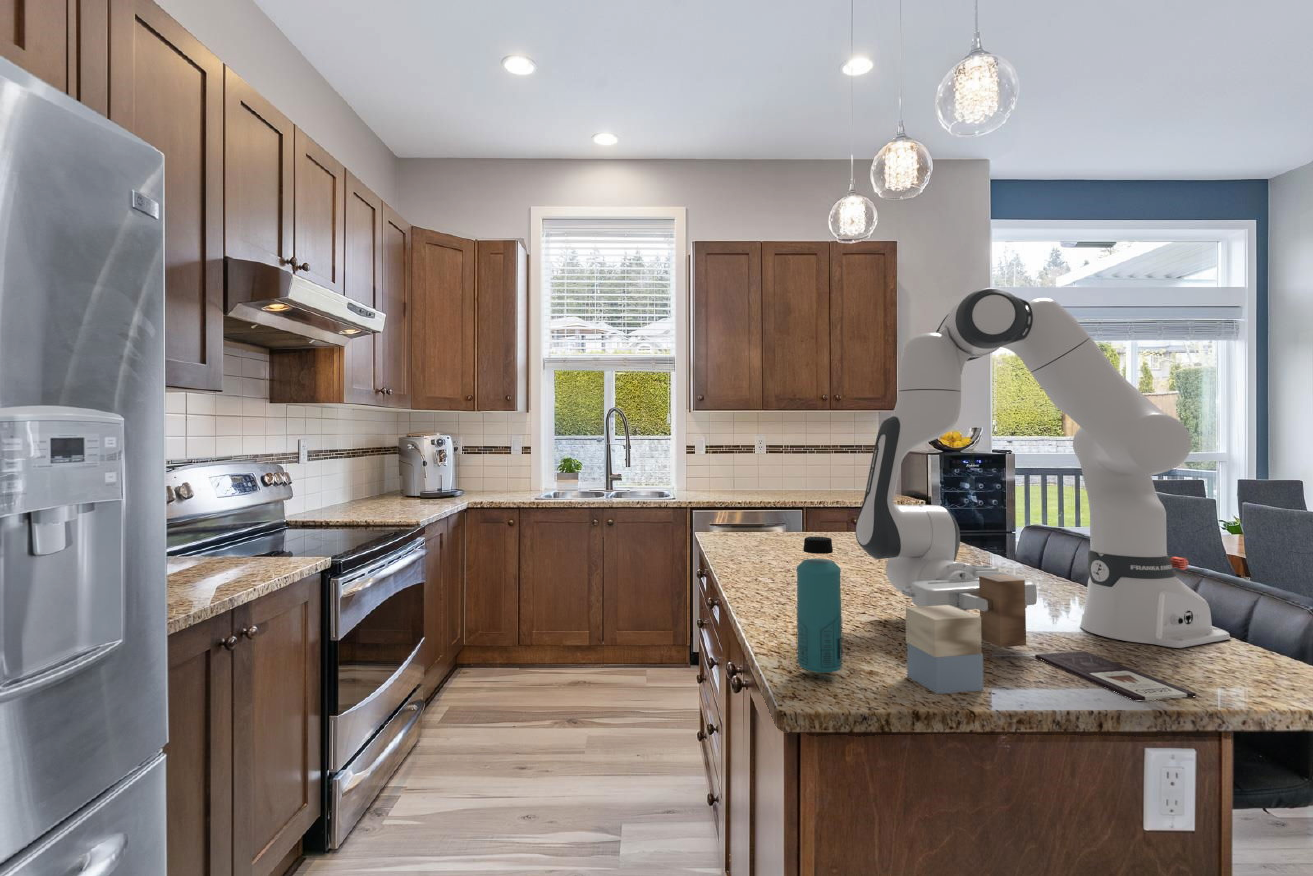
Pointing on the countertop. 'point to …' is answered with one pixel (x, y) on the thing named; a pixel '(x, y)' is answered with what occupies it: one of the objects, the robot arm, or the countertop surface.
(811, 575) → the beverage bottle
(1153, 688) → the chocolate bar
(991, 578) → the pillar
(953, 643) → the tower top
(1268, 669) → the countertop surface
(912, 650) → the tower base
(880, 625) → the countertop surface
